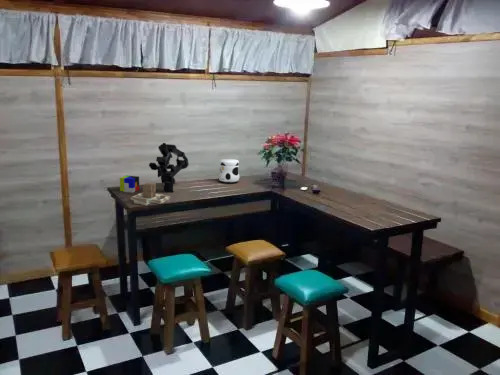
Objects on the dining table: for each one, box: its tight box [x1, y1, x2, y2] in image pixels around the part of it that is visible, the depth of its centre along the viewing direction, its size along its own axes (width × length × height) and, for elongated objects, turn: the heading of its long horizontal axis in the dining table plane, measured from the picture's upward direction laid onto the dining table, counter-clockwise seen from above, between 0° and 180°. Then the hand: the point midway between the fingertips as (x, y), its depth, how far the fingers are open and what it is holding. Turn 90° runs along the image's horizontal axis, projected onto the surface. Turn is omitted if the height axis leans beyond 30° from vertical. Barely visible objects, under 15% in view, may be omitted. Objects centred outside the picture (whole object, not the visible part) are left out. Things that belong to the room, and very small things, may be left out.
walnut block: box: [142, 182, 157, 199], centre depth 292 cm, size 6×6×9 cm
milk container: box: [218, 158, 241, 184], centre depth 358 cm, size 17×17×18 cm
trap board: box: [130, 192, 171, 206], centre depth 293 cm, size 24×22×4 cm
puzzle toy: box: [119, 175, 140, 194], centre depth 316 cm, size 10×10×10 cm
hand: (158, 177), depth 302 cm, fingers closed
